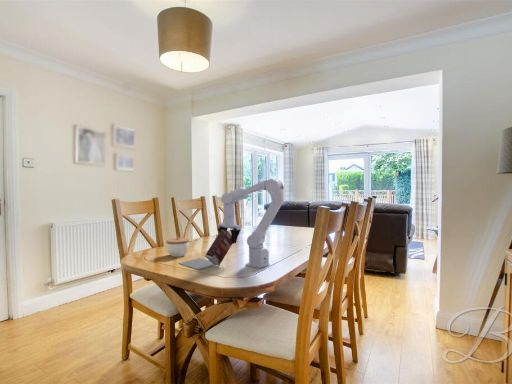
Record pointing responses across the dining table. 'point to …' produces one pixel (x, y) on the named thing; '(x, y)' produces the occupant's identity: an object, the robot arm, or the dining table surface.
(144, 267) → the dining table surface
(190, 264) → the felt mat
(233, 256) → the dining table surface
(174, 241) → the lidded bowl
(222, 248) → the supplement box
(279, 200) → the robot arm
